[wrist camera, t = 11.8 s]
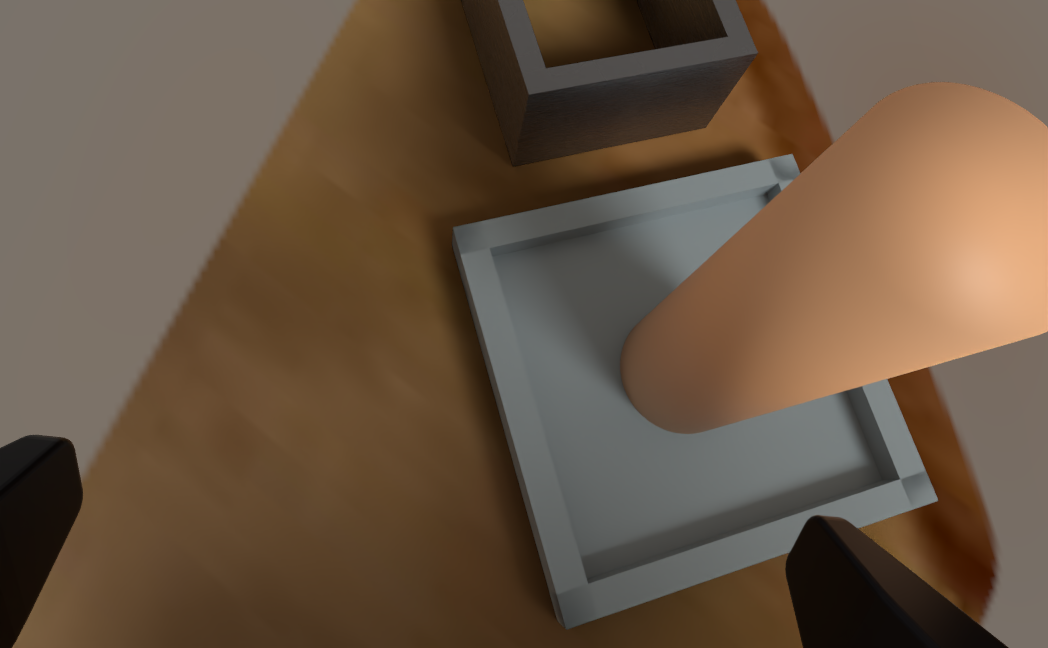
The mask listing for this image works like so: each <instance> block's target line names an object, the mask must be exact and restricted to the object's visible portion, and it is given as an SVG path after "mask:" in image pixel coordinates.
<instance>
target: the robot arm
mask: <svg viewBox="0 0 1048 648" xmlns="http://www.w3.org/2000/svg"><path fill="white" fill-rule="evenodd" d="M82 499H83V489H82V484H81V478H80V473H79V468H78V463H77V458H76V453H75V448H74V446H73V444H72V442H71V441H70V440H68V439H66V438H61V437H53V436H42V435H29V436H25V437H23V438H20V439H18V440H16V441H14V442H12V443H10V444H8V445H6V446H4V447H1V448H0V648H12V647H13V645H14V643H15V642H16V640H17V638H18V636H19V634H20V632H21V630H22V628H23V626H24V625H25V623H26V621H27V619H28V617H29V615H30V613H31V611H32V609H33V606H34V604H35V602H36V600H37V598H38V596H39V594H40V592H41V590H42V588H43V586H44V584H45V582H46V580H47V577H48V575H49V573H50V571H51V569H52V567H53V565H54V563H55V561H56V559H57V557H58V555H59V553H60V551H61V549H62V546H63V544H64V542H65V540H66V538H67V536H68V534H69V532H70V530H71V528H72V526H73V524H74V522H75V520H76V518H77V515H78V513H79V511H80V508H81V505H82ZM786 578H787V582H788V586H789V591H790V595H791V599H792V603H793V607H794V611H795V616H796V620H797V624H798V628H799V632H800V637H801V641H802V645H803V648H1008V647H1007V646H1006V645H1005V644H1003V643H1002V642H1000V640H998V639H997V638H996V637H994V636H993V635H992V634H991V633H989V632H988V631H987V630H986V629H984V628H983V627H982V626H981V625H979V624H978V623H977V622H975V621H974V620H973V619H972V618H970V617H969V616H968V615H967V614H965V613H964V612H963V611H962V610H960V609H959V608H958V607H956V606H955V605H954V604H953V603H951V602H950V601H949V600H948V599H946V598H945V597H944V596H943V595H941V594H940V593H939V592H937V591H936V590H935V589H934V588H932V587H931V586H930V585H929V584H927V583H926V582H925V581H924V580H922V579H921V578H920V577H918V576H917V575H916V574H915V573H913V572H912V571H911V570H910V569H908V568H907V567H906V566H905V565H903V564H902V563H901V562H899V561H898V560H897V559H896V558H894V557H893V556H892V555H891V554H889V553H888V552H887V551H886V550H884V549H883V548H882V547H880V546H879V545H878V544H877V543H875V542H874V541H873V540H872V539H870V538H869V537H868V536H867V535H865V534H864V533H863V532H861V531H860V530H859V529H858V528H856V527H855V526H854V525H853V524H851V523H850V522H849V521H847V520H846V519H843V518H840V517H833V516H823V515H814V516H812V517H810V518H809V519H808V520H807V521H806V523H805V524H804V526H803V528H802V530H801V532H800V534H799V536H798V538H797V539H796V541H795V543H794V545H793V547H792V549H791V551H790V553H789V555H788V557H787V561H786Z"/></svg>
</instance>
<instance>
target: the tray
mask: <svg viewBox="0 0 1048 648" xmlns="http://www.w3.org/2000/svg"><path fill="white" fill-rule="evenodd" d="M799 175H800V171H799V169H798V167H797V164H796V162H795V159H794V157H793V155H792V154H790V155H785V156H780V157H776V158H771V159H767V160H762V161H757V162H753V163H748V164H743V165H739V166H734V167H730V168H725V169H720V170H716V171H711V172H706V173H702V174H697V175H693V176H688V177H683V178H679V179H674V180H670V181H665V182H660V183H656V184H651V185H646V186H642V187H637V188H633V189H628V190H623V191H619V192H614V193H609V194H605V195H600V196H596V197H591V198H586V199H582V200H577V201H572V202H568V203H563V204H559V205H554V206H549V207H545V208H540V209H535V210H531V211H526V212H522V213H517V214H512V215H508V216H503V217H498V218H494V219H489V220H485V221H480V222H475V223H471V224H466V225H461V226H457V227H453V234H452V247H453V250H454V254H455V257H456V261H457V264H458V268H459V272H460V275H461V279H462V282H463V286H464V289H465V293H466V297H467V300H468V304H469V307H470V311H471V314H472V318H473V321H474V325H475V329H476V332H477V336H478V339H479V343H480V346H481V350H482V354H483V357H484V361H485V364H486V368H487V371H488V375H489V379H490V382H491V386H492V389H493V393H494V396H495V400H496V404H497V407H498V411H499V414H500V418H501V421H502V425H503V428H504V432H505V436H506V439H507V443H508V446H509V450H510V453H511V457H512V461H513V464H514V468H515V471H516V475H517V478H518V482H519V486H520V489H521V493H522V496H523V500H524V503H525V507H526V511H527V514H528V518H529V521H530V525H531V528H532V532H533V535H534V539H535V543H536V546H537V550H538V553H539V557H540V560H541V564H542V568H543V571H544V575H545V578H546V582H547V585H548V589H549V593H550V596H551V600H552V603H553V607H554V610H555V614H556V618H557V621H558V622H559V623H560V624H561V625H562V626H563V627H564V628H565V629H566V630H567V629H570V628H573V627H576V626H579V625H581V624H584V623H587V622H590V621H593V620H596V619H599V618H602V617H604V616H607V615H610V614H613V613H616V612H619V611H622V610H625V609H628V608H630V607H633V606H636V605H639V604H642V603H645V602H648V601H651V600H653V599H656V598H659V597H662V596H665V595H668V594H671V593H674V592H676V591H679V590H682V589H685V588H688V587H691V586H694V585H697V584H699V583H702V582H705V581H708V580H711V579H714V578H717V577H720V576H723V575H725V574H728V573H731V572H734V571H737V570H740V569H743V568H746V567H748V566H751V565H754V564H757V563H760V562H763V561H766V560H769V559H771V558H774V557H777V556H780V555H783V554H786V553H789V552H790V551H791V549H792V547H793V545H794V543H795V541H796V539H797V538H798V536H799V534H800V532H801V530H802V528H803V526H804V524H805V523H806V521H807V520H808V519H809V518H810V517H812V516H814V515H823V516H833V517H840V518H843V519H846V520H847V521H849V522H850V523H851V524H853V525H854V526H855V527H856V528H861V527H864V526H866V525H869V524H872V523H875V522H878V521H881V520H884V519H887V518H890V517H892V516H895V515H898V514H901V513H904V512H907V511H910V510H913V509H915V508H918V507H921V506H924V505H927V504H930V503H933V502H936V501H938V499H937V496H936V494H935V492H934V489H933V487H932V485H931V482H930V480H929V477H928V475H927V473H926V470H925V468H924V466H923V463H922V461H921V458H920V456H919V454H918V451H917V449H916V447H915V444H914V442H913V439H912V437H911V435H910V432H909V430H908V428H907V425H906V423H905V421H904V418H903V416H902V413H901V411H900V409H899V406H898V404H897V402H896V399H895V397H894V394H893V392H892V390H891V387H890V385H889V383H888V380H887V379H884V380H881V381H878V382H874V383H871V384H867V385H864V386H860V387H857V388H853V389H850V390H846V391H843V392H839V393H836V394H833V395H829V396H826V397H822V398H819V399H815V400H812V401H808V402H805V403H801V404H798V405H794V406H791V407H788V408H784V409H781V410H777V411H774V412H770V413H767V414H763V415H760V416H756V417H753V418H749V419H746V420H743V421H739V422H736V423H732V424H729V425H725V426H722V427H718V428H715V429H711V430H708V431H704V432H700V433H695V434H679V433H674V432H670V431H667V430H664V429H662V428H660V427H658V426H656V425H654V424H653V423H651V422H649V421H648V420H647V419H646V418H644V417H643V416H642V415H641V414H640V413H639V412H638V411H637V410H636V408H635V407H634V406H633V404H632V403H631V401H630V400H629V398H628V396H627V394H626V392H625V389H624V387H623V383H622V379H621V373H620V359H621V352H622V349H623V345H624V343H625V340H626V338H627V337H628V335H629V333H630V332H631V330H632V329H633V328H634V327H635V326H636V325H637V324H638V323H639V322H640V321H641V320H642V319H643V318H644V317H645V316H646V315H648V314H649V313H650V312H651V311H652V310H653V309H654V308H655V307H656V306H657V305H658V304H659V303H661V302H662V301H663V300H664V299H665V298H666V297H667V296H668V295H669V294H670V293H671V292H672V291H674V290H675V289H676V288H677V287H678V286H679V285H680V284H681V283H682V282H683V281H684V280H686V279H687V278H688V277H689V276H690V275H691V274H692V273H693V272H694V271H695V270H696V269H697V268H699V267H700V266H701V265H702V264H703V263H704V262H705V261H706V260H707V259H708V258H709V257H711V256H712V255H713V254H714V253H715V252H716V251H717V250H718V249H719V248H720V247H721V246H722V245H724V244H725V243H726V242H727V241H728V240H729V239H730V238H731V237H732V236H733V235H734V234H736V233H737V232H738V231H739V230H740V229H741V228H742V227H743V226H744V225H745V224H746V223H747V222H749V221H750V220H751V219H752V218H753V217H754V216H755V215H756V214H757V213H758V212H759V211H760V210H762V209H763V208H764V207H765V206H766V205H767V204H768V203H769V202H770V201H771V200H772V199H774V198H775V197H776V196H777V195H778V194H779V193H780V192H781V191H782V190H783V189H784V188H785V187H787V186H788V185H789V184H790V183H791V182H792V181H793V180H794V179H795V178H796V177H797V176H799Z"/></svg>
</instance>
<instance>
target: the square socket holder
mask: <svg viewBox="0 0 1048 648" xmlns="http://www.w3.org/2000/svg"><path fill="white" fill-rule="evenodd" d="M461 2H462V5H463V8H464V11H465V14H466V18H467V21H468V24H469V27H470V30H471V34H472V37H473V40H474V43H475V47H476V50H477V53H478V56H479V59H480V63H481V66H482V69H483V72H484V75H485V79H486V82H487V85H488V88H489V91H490V95H491V98H492V101H493V104H494V107H495V111H496V114H497V117H498V120H499V123H500V127H501V130H502V133H503V136H504V139H505V143H506V146H507V149H508V152H509V155H510V159H511V162H512V165H513V166H518V165H523V164H528V163H533V162H538V161H543V160H548V159H553V158H558V157H563V156H567V155H572V154H577V153H582V152H587V151H592V150H597V149H602V148H607V147H612V146H617V145H622V144H627V143H632V142H637V141H642V140H647V139H652V138H657V137H662V136H667V135H672V134H676V133H681V132H686V131H691V130H696V129H701V128H706V126H707V125H708V123H709V122H710V121H711V119H712V118H713V116H714V115H715V113H716V112H717V111H718V109H719V108H720V106H721V105H722V103H723V102H724V101H725V99H726V98H727V96H728V95H729V94H730V92H731V91H732V89H733V88H734V86H735V85H736V84H737V82H738V81H739V79H740V78H741V76H742V75H743V74H744V72H745V71H746V69H747V68H748V67H749V65H750V64H751V62H752V61H753V59H754V58H755V57H756V55H757V54H758V52H757V50H756V47H755V45H754V43H753V40H752V38H751V36H750V33H749V31H748V29H747V26H746V24H745V22H744V19H743V17H742V14H741V12H740V10H739V7H738V5H737V3H736V0H637V2H638V4H639V7H640V10H641V12H642V15H643V17H644V20H645V23H646V25H647V28H648V30H649V33H650V36H651V38H652V41H653V43H654V46H655V50H649V51H643V52H637V53H632V54H626V55H620V56H614V57H609V58H603V59H597V60H591V61H586V62H580V63H574V64H568V65H563V66H557V67H551V68H546V67H545V64H544V61H543V58H542V55H541V52H540V49H539V46H538V43H537V40H536V37H535V34H534V32H533V29H532V26H531V23H530V20H529V17H528V14H527V11H526V8H525V5H524V2H523V0H461Z"/></svg>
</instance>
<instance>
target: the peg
mask: <svg viewBox="0 0 1048 648" xmlns="http://www.w3.org/2000/svg"><path fill="white" fill-rule="evenodd" d="M1047 331H1048V127H1047V126H1046V125H1045V124H1043V123H1042V122H1041V121H1040V120H1039V119H1037V118H1036V117H1035V116H1033V115H1032V114H1031V113H1029V112H1028V111H1027V110H1025V109H1023V108H1022V107H1020V106H1018V105H1017V104H1015V103H1014V102H1012V101H1010V100H1007V99H1006V98H1004V97H1002V96H1000V95H997V94H995V93H992V92H990V91H987V90H984V89H981V88H978V87H973V86H969V85H965V84H958V83H950V82H931V83H924V84H917V85H913V86H910V87H906V88H903V89H901V90H898V91H897V92H894V93H892V94H890V95H889V96H887V97H885V98H884V99H882V100H881V101H879V102H878V103H877V104H876V105H875V106H873V108H871V109H870V110H869V111H868V112H867V113H866V114H865V115H864V116H863V117H862V118H860V119H859V120H858V121H857V122H856V123H855V124H854V125H853V126H852V127H851V128H850V129H848V130H847V132H845V133H844V134H843V135H842V136H841V137H840V138H839V139H838V140H837V141H835V142H834V143H833V144H832V145H831V146H830V147H829V148H828V149H827V150H826V151H825V152H823V153H822V154H821V155H820V156H819V157H818V158H817V159H816V160H815V161H814V162H813V163H812V164H810V165H809V166H808V167H807V168H806V169H805V170H804V171H803V172H802V173H801V174H800V175H799V176H797V177H796V178H795V179H794V180H793V181H792V182H791V183H790V184H789V185H788V186H787V187H785V188H784V189H783V190H782V191H781V192H780V193H779V194H778V195H777V196H776V197H775V198H774V199H772V200H771V201H770V202H769V203H768V204H767V205H766V206H765V207H764V208H763V209H762V210H760V211H759V212H758V213H757V214H756V215H755V216H754V217H753V218H752V219H751V220H750V221H749V222H747V223H746V224H745V225H744V226H743V227H742V228H741V229H740V230H739V231H738V232H737V233H736V234H734V235H733V236H732V237H731V238H730V239H729V240H728V241H727V242H726V243H725V244H724V245H722V246H721V247H720V248H719V249H718V250H717V251H716V252H715V253H714V254H713V255H712V256H711V257H709V258H708V259H707V260H706V261H705V262H704V263H703V264H702V265H701V266H700V267H699V268H697V269H696V270H695V271H694V272H693V273H692V274H691V275H690V276H689V277H688V278H687V279H686V280H684V281H683V282H682V283H681V284H680V285H679V286H678V287H677V288H676V289H675V290H674V291H672V292H671V293H670V294H669V295H668V296H667V297H666V298H665V299H664V300H663V301H662V302H661V303H659V304H658V305H657V306H656V307H655V308H654V309H653V310H652V311H651V312H650V313H649V314H648V315H646V316H645V317H644V318H643V319H642V320H641V321H640V322H639V323H638V324H637V325H636V326H635V327H634V328H633V329H632V330H631V332H630V333H629V335H628V337H627V338H626V340H625V343H624V345H623V349H622V352H621V359H620V373H621V379H622V383H623V387H624V389H625V392H626V394H627V396H628V398H629V400H630V401H631V403H632V404H633V406H634V407H635V408H636V410H637V411H638V412H639V413H640V414H641V415H642V416H643V417H644V418H646V419H647V420H648V421H649V422H651V423H653V424H654V425H656V426H658V427H660V428H662V429H664V430H667V431H670V432H674V433H679V434H695V433H700V432H704V431H708V430H711V429H715V428H718V427H722V426H725V425H729V424H732V423H736V422H739V421H743V420H746V419H749V418H753V417H756V416H760V415H763V414H767V413H770V412H774V411H777V410H781V409H784V408H788V407H791V406H794V405H798V404H801V403H805V402H808V401H812V400H815V399H819V398H822V397H826V396H829V395H833V394H836V393H839V392H843V391H846V390H850V389H853V388H857V387H860V386H864V385H867V384H871V383H874V382H878V381H881V380H884V379H888V378H891V377H895V376H898V375H902V374H905V373H909V372H912V371H916V370H919V369H923V368H926V367H929V366H933V365H936V364H940V363H943V362H946V361H950V360H954V359H957V358H961V357H964V356H968V355H971V354H974V353H978V352H981V351H985V350H988V349H992V348H995V347H999V346H1002V345H1006V344H1009V343H1013V342H1016V341H1019V340H1023V339H1026V338H1030V337H1033V336H1037V335H1040V334H1042V333H1045V332H1047Z"/></svg>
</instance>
